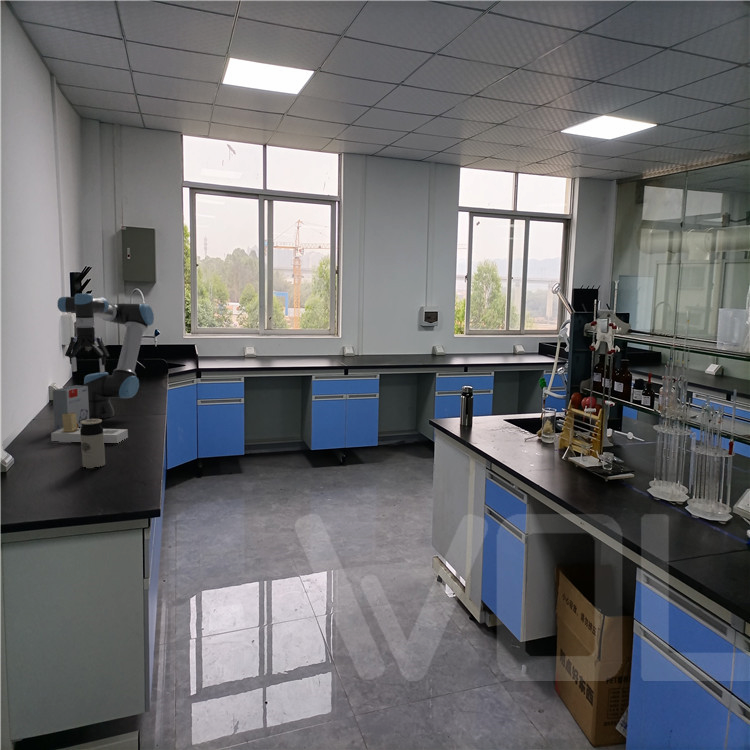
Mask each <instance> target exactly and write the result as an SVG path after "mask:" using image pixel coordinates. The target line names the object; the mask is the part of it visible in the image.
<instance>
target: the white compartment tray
mask: <svg viewBox="0 0 750 750" xmlns="http://www.w3.org/2000/svg"><path fill="white" fill-rule="evenodd" d="M81 428H82V427H80V428H77V431H76V432H74V433H68V432H64V431H63V428H62V429H60V430H57V431H55V430H54V431H53V432H51V433H50V437H51V442H52V441H59V442H58V443H71V442H81V435H80V430H81ZM103 435H104V443H118V444H120V443H122V442H123V441H125V440H127V439H128V438H129V430H128V429H125V428H124V429H123V428H121V429H120V428H103ZM126 438H127V439H126ZM124 439H125V440H124ZM122 440H123V441H122ZM121 441H122V442H121ZM119 442H120V443H119Z"/></svg>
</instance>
